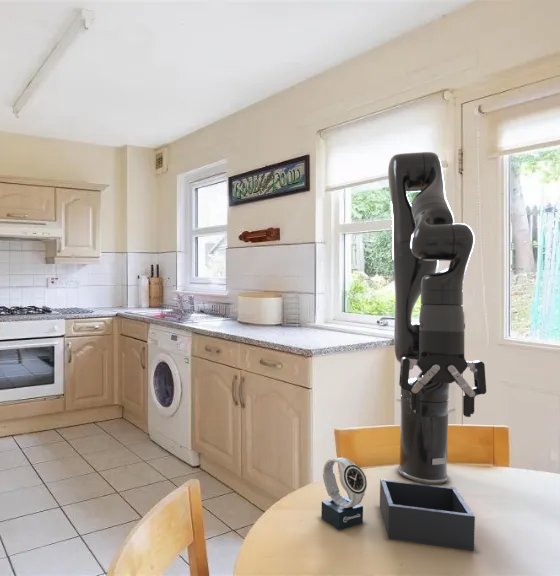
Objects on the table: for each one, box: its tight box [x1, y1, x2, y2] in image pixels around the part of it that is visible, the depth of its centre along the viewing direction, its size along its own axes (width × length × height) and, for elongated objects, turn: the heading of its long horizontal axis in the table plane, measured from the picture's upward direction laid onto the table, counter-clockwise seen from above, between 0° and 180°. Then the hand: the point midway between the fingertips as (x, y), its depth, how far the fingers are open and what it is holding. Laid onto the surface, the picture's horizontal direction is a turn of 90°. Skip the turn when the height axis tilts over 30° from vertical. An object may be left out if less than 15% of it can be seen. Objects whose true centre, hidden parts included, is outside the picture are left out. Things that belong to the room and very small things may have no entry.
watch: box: [320, 456, 368, 531], centre depth 85 cm, size 6×8×11 cm
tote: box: [379, 478, 476, 552], centre depth 83 cm, size 11×13×6 cm
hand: (441, 414), depth 90 cm, fingers open, 8 cm apart
